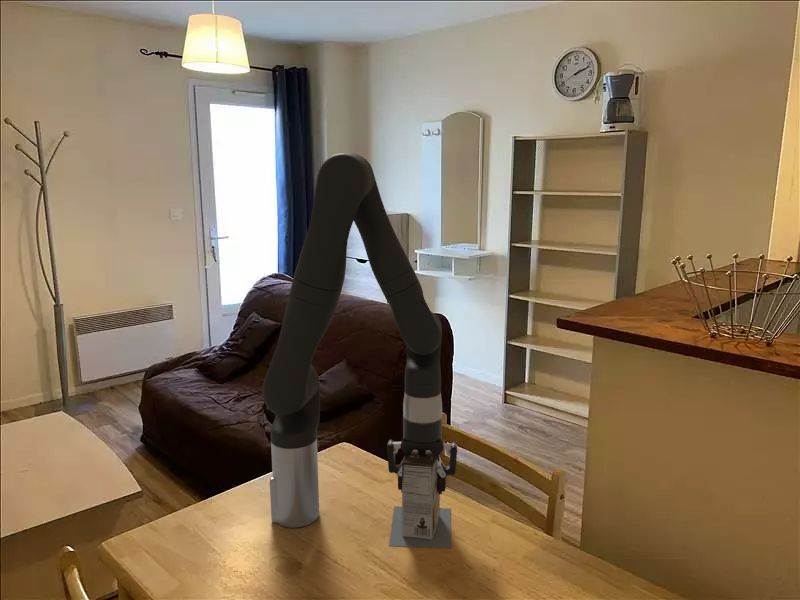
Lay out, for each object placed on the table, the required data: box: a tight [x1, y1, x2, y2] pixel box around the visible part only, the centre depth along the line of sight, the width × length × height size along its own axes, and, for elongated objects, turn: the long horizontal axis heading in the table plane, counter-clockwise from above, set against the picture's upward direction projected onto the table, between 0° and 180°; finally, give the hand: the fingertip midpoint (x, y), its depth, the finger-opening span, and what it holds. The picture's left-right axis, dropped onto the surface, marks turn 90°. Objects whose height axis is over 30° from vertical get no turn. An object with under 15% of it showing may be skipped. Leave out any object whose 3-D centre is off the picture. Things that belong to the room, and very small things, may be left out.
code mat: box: [388, 505, 453, 550], centre depth 124 cm, size 12×14×1 cm
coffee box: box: [401, 453, 441, 540], centre depth 123 cm, size 9×6×16 cm
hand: (421, 491), depth 123 cm, fingers closed on coffee box, 7 cm apart
